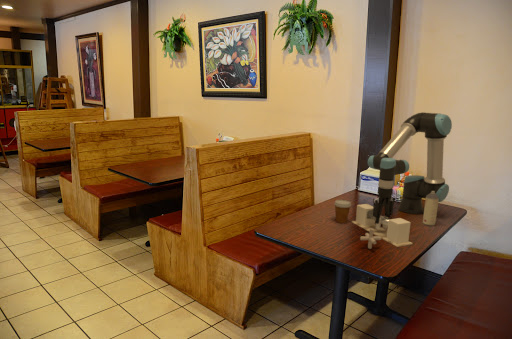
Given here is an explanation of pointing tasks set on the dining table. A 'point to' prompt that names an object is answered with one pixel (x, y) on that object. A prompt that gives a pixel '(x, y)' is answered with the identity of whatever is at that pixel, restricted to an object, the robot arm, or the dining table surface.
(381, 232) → the board
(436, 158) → the robot arm
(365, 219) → the sleeve
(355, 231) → the dining table surface
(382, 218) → the tube
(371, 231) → the pipe connector
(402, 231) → the socket
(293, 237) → the dining table surface
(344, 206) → the disposable coffee cup
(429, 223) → the aerosol can
